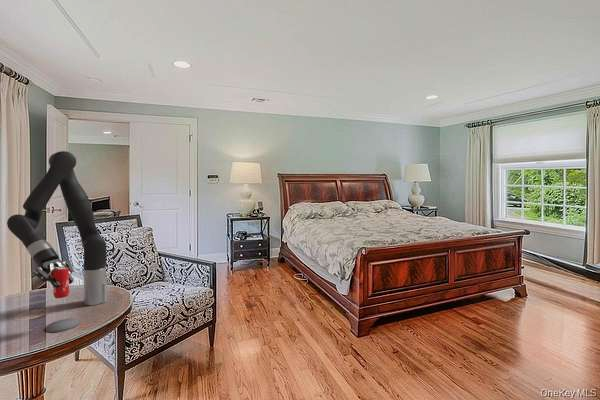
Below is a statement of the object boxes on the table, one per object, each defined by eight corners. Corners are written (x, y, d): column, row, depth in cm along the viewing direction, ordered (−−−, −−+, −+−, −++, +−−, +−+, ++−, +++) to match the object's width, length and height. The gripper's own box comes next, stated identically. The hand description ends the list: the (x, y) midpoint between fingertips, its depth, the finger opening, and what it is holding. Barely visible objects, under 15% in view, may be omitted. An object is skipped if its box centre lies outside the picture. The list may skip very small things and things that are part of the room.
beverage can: (59, 294, 130) (58, 266, 129) (72, 294, 131) (71, 266, 130) (50, 298, 125) (49, 269, 124) (63, 298, 125) (63, 269, 125)
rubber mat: (82, 318, 136) (82, 316, 136) (75, 329, 126) (75, 327, 126) (51, 322, 132) (51, 320, 131) (41, 334, 121) (41, 332, 121)
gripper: (28, 251, 122) (51, 284, 119) (64, 244, 136) (86, 274, 133) (19, 263, 124) (41, 296, 121) (55, 255, 137) (77, 284, 135)
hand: (65, 284), depth 127 cm, fingers closed on beverage can, 5 cm apart
